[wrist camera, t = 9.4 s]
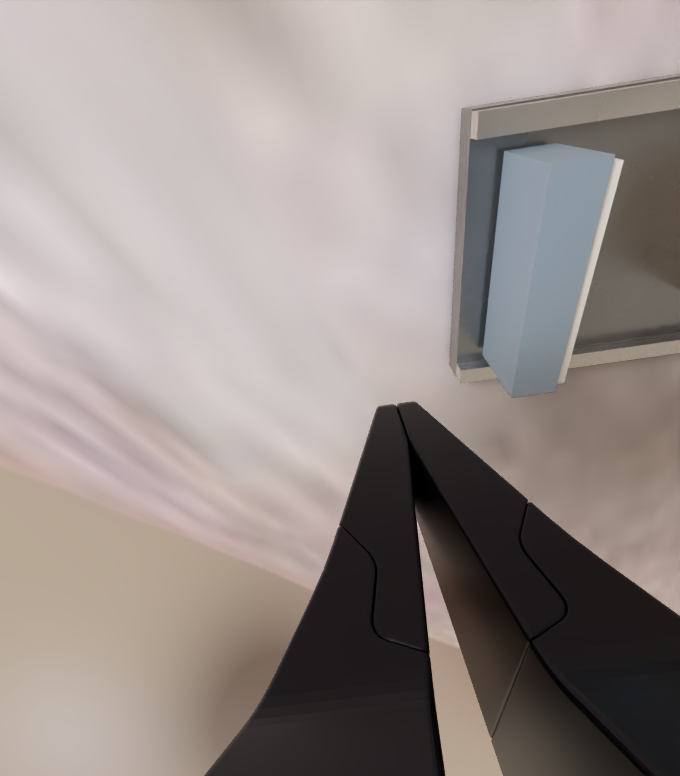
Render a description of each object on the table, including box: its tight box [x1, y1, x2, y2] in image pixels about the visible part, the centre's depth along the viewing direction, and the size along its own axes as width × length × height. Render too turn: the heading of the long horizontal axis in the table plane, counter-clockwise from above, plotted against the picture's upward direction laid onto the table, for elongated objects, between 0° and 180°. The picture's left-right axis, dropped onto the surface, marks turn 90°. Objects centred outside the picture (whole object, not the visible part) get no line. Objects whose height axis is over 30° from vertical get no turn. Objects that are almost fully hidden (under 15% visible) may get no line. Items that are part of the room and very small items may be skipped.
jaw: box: [483, 143, 624, 398], centre depth 13 cm, size 2×8×3 cm, turn 8°
